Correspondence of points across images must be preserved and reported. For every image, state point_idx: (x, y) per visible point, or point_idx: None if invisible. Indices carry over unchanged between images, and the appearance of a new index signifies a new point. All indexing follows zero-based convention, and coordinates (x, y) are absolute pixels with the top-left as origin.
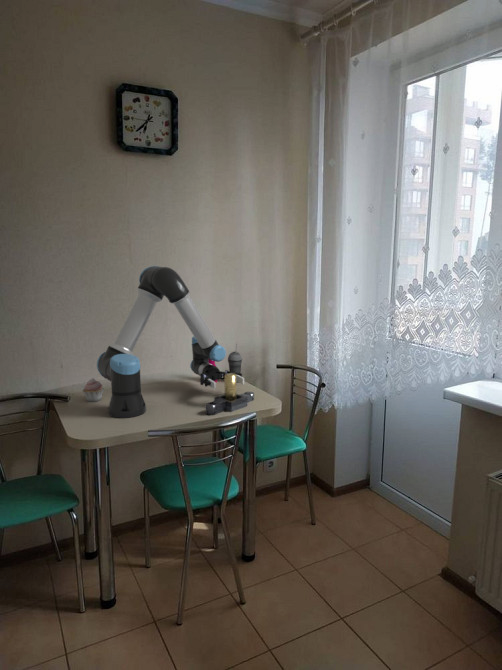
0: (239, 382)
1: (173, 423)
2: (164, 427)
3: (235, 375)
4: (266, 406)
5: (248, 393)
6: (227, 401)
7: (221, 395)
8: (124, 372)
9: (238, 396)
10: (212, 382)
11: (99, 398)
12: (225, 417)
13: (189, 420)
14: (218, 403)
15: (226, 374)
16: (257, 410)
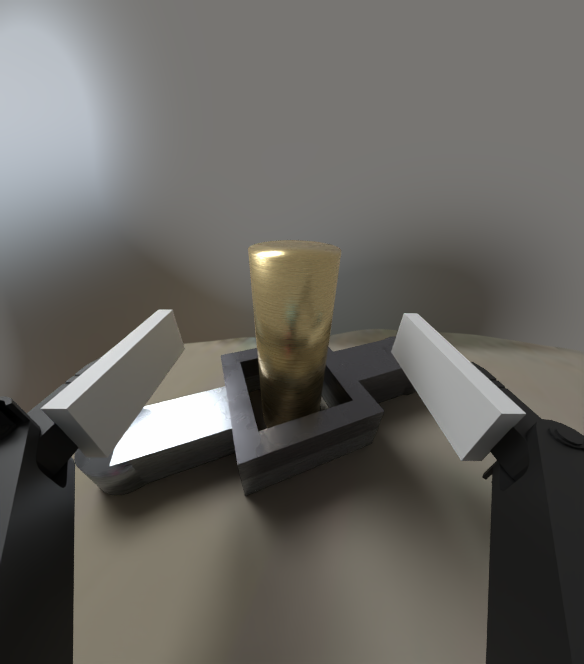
0: (158, 382)
1: (526, 361)
2: (543, 350)
3: (273, 241)
4: (180, 356)
5: (130, 431)
6: (329, 348)
7: (329, 428)
8: None
9: (244, 382)
10: (431, 334)
11: None
12: (350, 341)
13: (472, 361)
14: (372, 344)
15: (321, 253)
16: (234, 344)
